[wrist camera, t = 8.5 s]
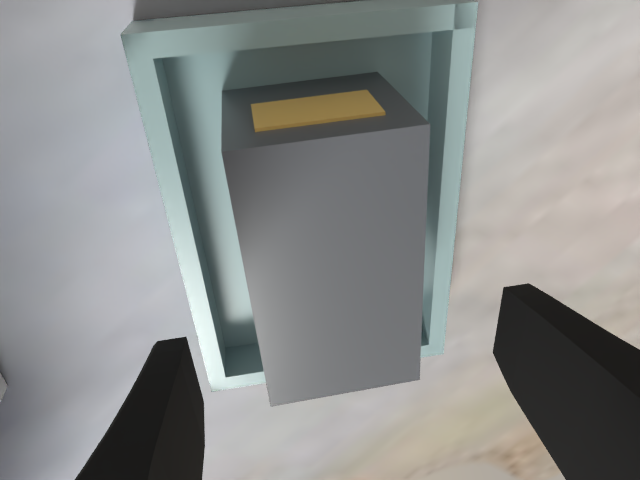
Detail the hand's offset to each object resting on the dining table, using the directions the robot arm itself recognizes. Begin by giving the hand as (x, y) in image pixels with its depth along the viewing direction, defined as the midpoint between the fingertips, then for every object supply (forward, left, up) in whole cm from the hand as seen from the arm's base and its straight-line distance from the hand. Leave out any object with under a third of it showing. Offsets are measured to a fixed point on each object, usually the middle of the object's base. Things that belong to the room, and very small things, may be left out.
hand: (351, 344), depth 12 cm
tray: (0, 0, -7) cm, 7 cm away
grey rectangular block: (0, 0, -6) cm, 6 cm away
